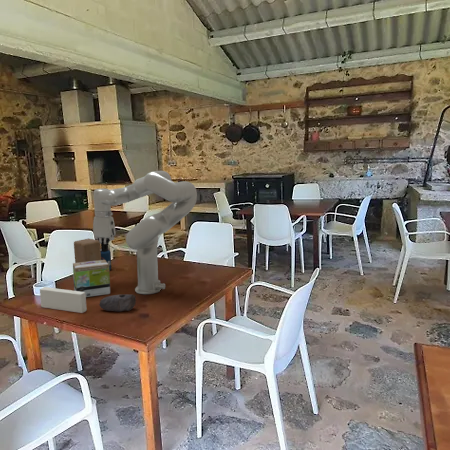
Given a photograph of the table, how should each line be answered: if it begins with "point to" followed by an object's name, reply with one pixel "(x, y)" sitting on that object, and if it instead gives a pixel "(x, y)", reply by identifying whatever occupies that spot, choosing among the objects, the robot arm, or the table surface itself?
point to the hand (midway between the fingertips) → (104, 251)
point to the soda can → (106, 257)
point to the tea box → (92, 277)
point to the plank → (63, 299)
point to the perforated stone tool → (118, 302)
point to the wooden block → (87, 250)
